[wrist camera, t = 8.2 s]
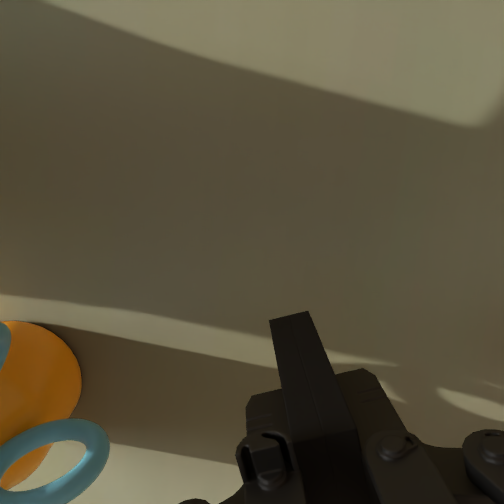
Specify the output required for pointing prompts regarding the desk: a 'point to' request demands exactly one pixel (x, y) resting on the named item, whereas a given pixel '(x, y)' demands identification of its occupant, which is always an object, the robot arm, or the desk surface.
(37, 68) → the desk surface
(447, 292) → the desk surface
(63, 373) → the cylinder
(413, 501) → the robot arm
